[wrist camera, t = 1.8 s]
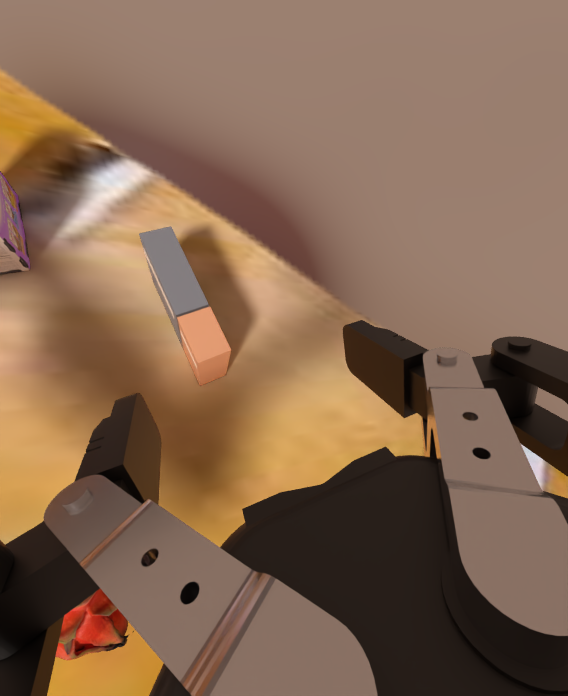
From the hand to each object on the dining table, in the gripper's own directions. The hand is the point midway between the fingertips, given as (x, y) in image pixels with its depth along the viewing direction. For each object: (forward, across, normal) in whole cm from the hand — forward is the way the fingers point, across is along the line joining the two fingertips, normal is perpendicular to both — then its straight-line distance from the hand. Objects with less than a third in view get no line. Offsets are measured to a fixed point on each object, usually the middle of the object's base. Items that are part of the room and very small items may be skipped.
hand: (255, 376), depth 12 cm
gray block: (+38, -4, -7) cm, 39 cm away
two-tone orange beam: (+32, -3, -14) cm, 35 cm away
